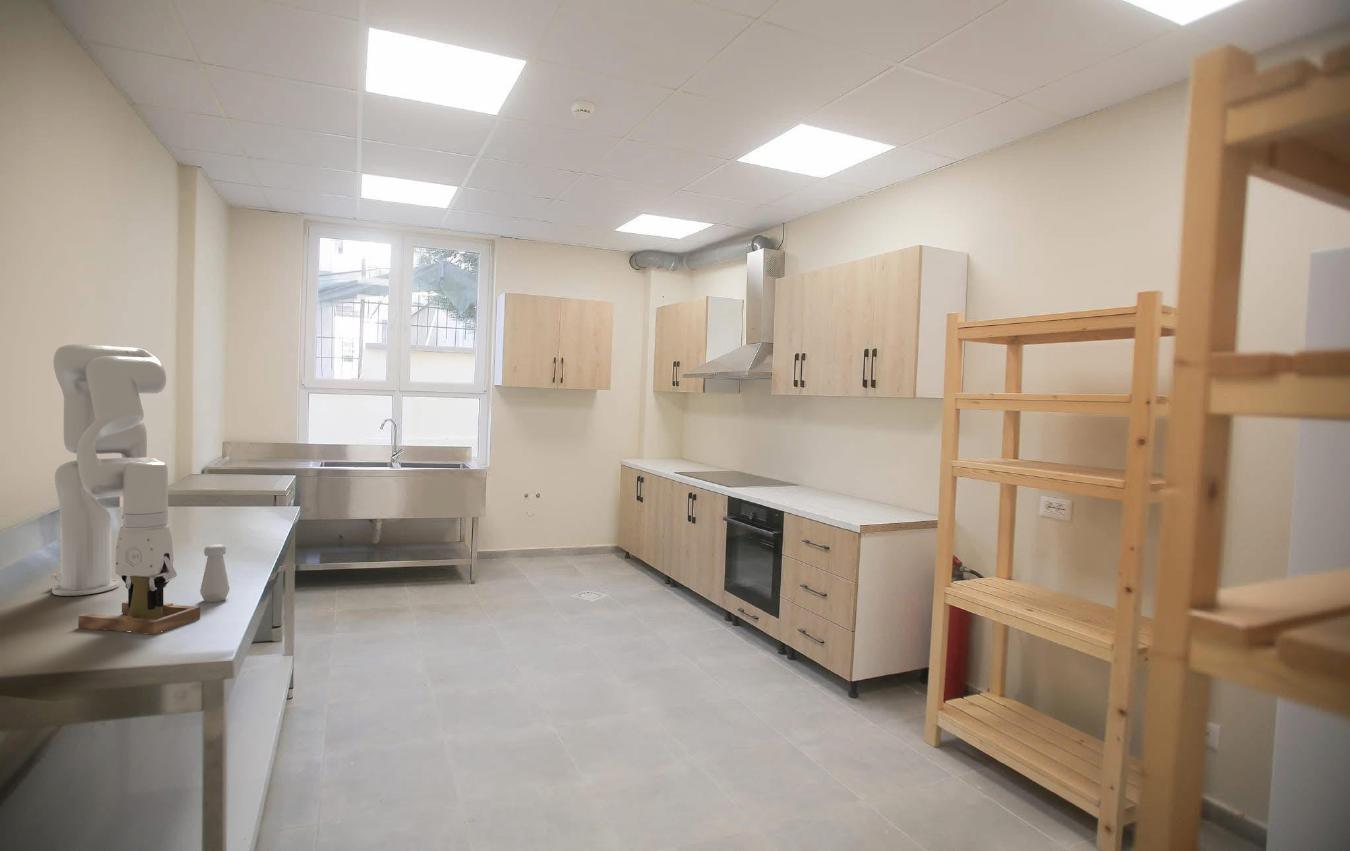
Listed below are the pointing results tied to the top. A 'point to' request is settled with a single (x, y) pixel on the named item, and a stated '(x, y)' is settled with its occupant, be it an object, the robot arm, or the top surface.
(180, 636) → the top surface
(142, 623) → the wooden u-shaped frame
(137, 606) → the pepper shaker
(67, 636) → the top surface
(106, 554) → the robot arm
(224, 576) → the salt shaker
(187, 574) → the top surface
